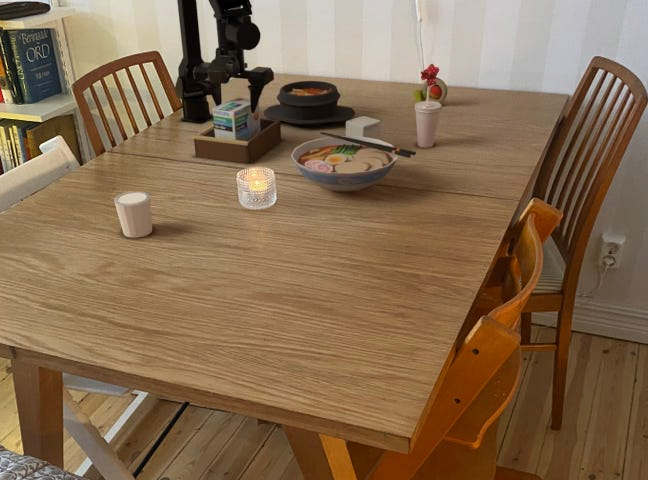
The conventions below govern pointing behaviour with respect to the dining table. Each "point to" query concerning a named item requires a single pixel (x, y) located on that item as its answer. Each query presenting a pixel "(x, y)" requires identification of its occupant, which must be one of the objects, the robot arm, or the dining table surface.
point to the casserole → (309, 104)
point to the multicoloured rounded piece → (436, 91)
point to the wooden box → (237, 143)
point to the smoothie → (427, 121)
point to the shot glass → (134, 213)
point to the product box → (364, 127)
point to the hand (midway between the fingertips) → (236, 110)
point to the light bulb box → (236, 120)
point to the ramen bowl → (346, 161)
